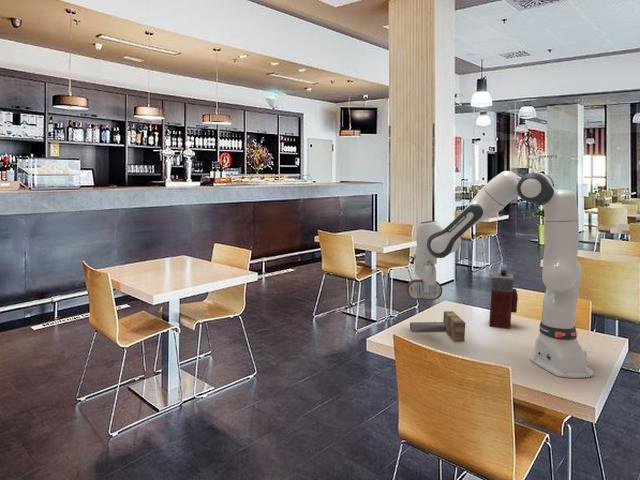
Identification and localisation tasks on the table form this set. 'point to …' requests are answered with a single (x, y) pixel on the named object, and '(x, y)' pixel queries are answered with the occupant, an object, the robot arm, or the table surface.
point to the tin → (417, 292)
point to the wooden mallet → (443, 326)
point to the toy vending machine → (502, 299)
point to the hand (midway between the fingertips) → (424, 290)
